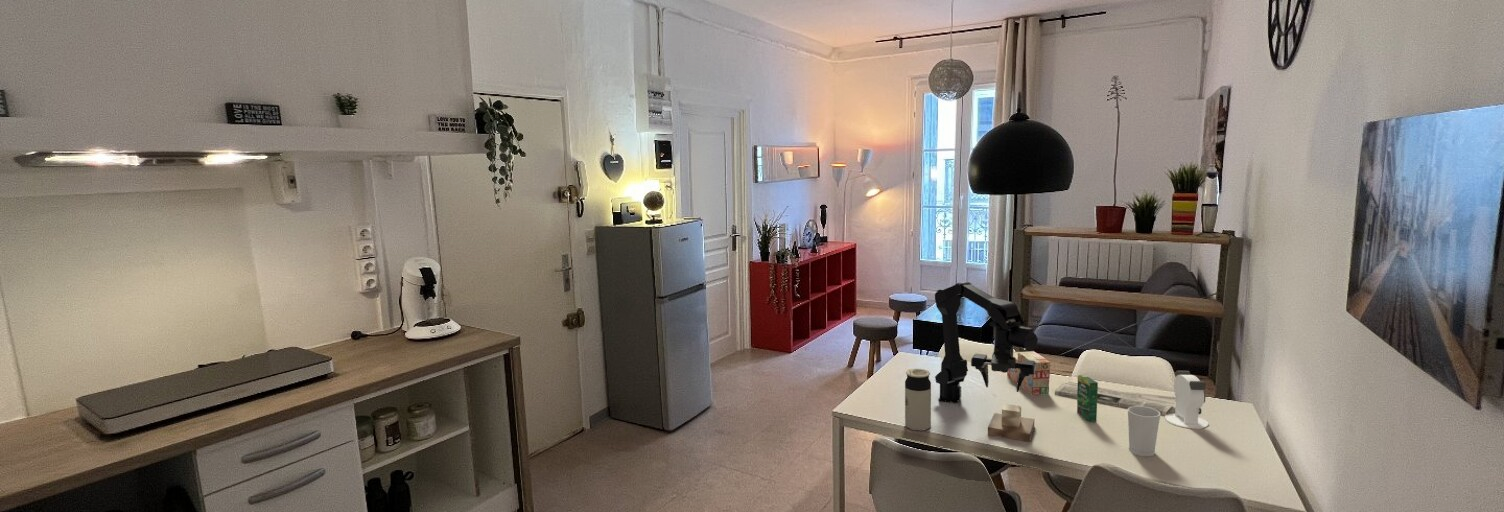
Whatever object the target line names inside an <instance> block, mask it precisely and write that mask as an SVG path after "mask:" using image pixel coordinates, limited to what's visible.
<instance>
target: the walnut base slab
mask: <svg viewBox="0 0 1504 512" xmlns="http://www.w3.org/2000/svg"><path fill="white" fill-rule="evenodd" d="M987 426H988V427H987V436H993V437H998V438H1005V439H1011V440H1018V441H1023V442H1028V443H1030V442H1031V439H1032V435H1033V432H1034V428H1035V418H1029V417H1025V416H1024V417H1023V416H1021V423H1020V426H1019V427H1013V426H1007V425H1002V413H997V412H994V413H993V415H992V417H991V420H990V422H989V423H988V425H987Z"/></svg>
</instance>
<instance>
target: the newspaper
mask: <svg viewBox="0 0 1504 512" xmlns="http://www.w3.org/2000/svg"><path fill="white" fill-rule="evenodd" d="M1077 392H1078V382H1075V381H1074V382H1073V381H1068V382H1061V383H1060V385H1059V386H1058V387H1057V388H1056V389H1055V390H1054V395H1055V396H1061V397H1065V398H1066V397H1067V398H1070V399H1075V400H1077ZM1097 404H1101V405H1102V404H1103V405H1108V406H1111V407H1112V406H1113V407H1117V406H1118V407H1119V408H1124V409H1128V408H1129V407H1133V406H1143V407H1149V408H1152V409H1155V410H1157V411H1159V412H1160V414H1161V415H1160V416H1164V415H1165V416H1166V415H1168V414H1167V413H1168V411H1169V410H1170V409H1171V408H1172V407H1173V406H1174V405H1175V404H1176V396H1168V395H1167V396H1166V395H1157V394H1149V393H1148V394H1146V393H1139V392H1130V391H1121V390H1117V389H1116V390H1115V389H1110V388H1105V387H1100V386H1098V391H1097ZM1165 416H1164V417H1165Z"/></svg>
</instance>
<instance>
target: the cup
mask: <svg viewBox="0 0 1504 512" xmlns="http://www.w3.org/2000/svg"><path fill="white" fill-rule="evenodd" d="M1160 420H1161V415H1160V412H1159V411H1157V410H1155V409H1152V408H1149V407H1143V406H1133V407H1129V408H1127V421H1128V422H1127V424H1128V425H1127V426H1128V450H1129V452H1130V453H1132V454H1133V455H1136V456H1140V457H1153V456H1155V455H1156V453H1155V452H1156V445H1157V439H1158V432H1159V425H1160Z"/></svg>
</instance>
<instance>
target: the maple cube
mask: <svg viewBox="0 0 1504 512" xmlns="http://www.w3.org/2000/svg"><path fill="white" fill-rule="evenodd" d="M1001 414H1002V425H1007V426H1013V427H1019V426H1020V423H1021V417H1022V406H1021V405H1016V404H1010V403H1003V406H1002V408H1001Z"/></svg>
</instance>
